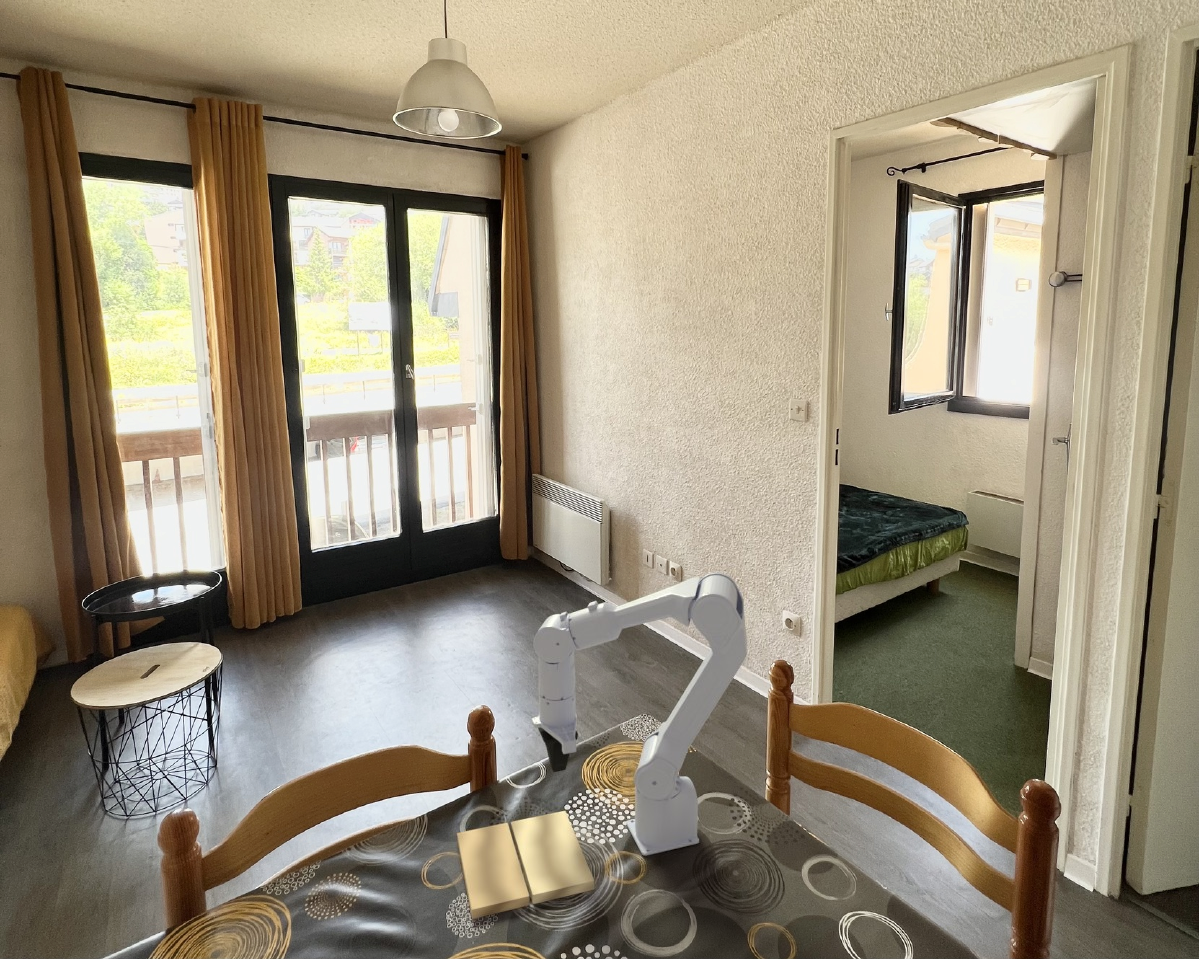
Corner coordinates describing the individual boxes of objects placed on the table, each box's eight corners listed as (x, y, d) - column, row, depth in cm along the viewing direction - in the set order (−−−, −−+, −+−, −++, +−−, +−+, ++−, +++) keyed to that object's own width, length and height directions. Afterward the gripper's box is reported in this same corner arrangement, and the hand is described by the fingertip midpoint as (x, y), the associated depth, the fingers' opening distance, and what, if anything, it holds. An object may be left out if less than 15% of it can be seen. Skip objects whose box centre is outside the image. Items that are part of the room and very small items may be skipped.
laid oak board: (507, 830, 120) (507, 822, 119) (529, 905, 105) (529, 896, 104) (457, 841, 117) (456, 833, 117) (472, 919, 102) (471, 909, 102)
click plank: (565, 818, 122) (565, 810, 122) (594, 889, 107) (594, 880, 107) (510, 830, 120) (510, 821, 119) (533, 904, 105) (532, 895, 104)
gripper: (522, 674, 122) (524, 748, 125) (542, 719, 109) (544, 801, 112) (563, 667, 124) (565, 740, 128) (589, 711, 111) (589, 792, 114)
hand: (558, 768), depth 120 cm, fingers closed
